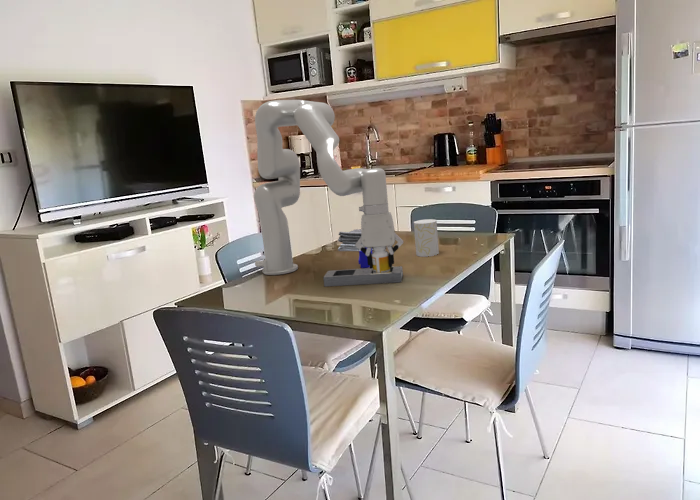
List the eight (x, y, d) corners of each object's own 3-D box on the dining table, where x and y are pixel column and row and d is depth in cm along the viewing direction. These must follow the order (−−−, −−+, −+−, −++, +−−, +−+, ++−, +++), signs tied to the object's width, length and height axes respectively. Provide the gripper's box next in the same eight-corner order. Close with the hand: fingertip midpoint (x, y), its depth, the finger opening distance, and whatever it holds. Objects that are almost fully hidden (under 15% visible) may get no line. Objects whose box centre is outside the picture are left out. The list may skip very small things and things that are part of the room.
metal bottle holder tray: (324, 286, 180) (323, 276, 179) (329, 279, 188) (328, 270, 187) (401, 282, 176) (400, 272, 175) (403, 275, 183) (402, 265, 183)
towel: (378, 252, 222) (376, 232, 220) (336, 251, 230) (334, 232, 229) (393, 243, 235) (391, 224, 234) (352, 243, 244) (351, 225, 242)
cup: (413, 256, 207) (411, 223, 205) (419, 251, 214) (417, 219, 212) (435, 256, 204) (433, 223, 201) (441, 251, 211) (438, 218, 209)
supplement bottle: (393, 273, 182) (390, 243, 180) (387, 278, 177) (384, 247, 175) (377, 273, 184) (374, 243, 182) (370, 277, 179) (368, 247, 177)
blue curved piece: (361, 260, 211) (359, 244, 209) (373, 259, 210) (371, 243, 209) (356, 268, 199) (354, 252, 198) (369, 268, 198) (367, 251, 197)
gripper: (346, 213, 174) (352, 271, 178) (403, 209, 171) (408, 268, 175) (350, 209, 181) (355, 265, 185) (405, 205, 178) (409, 262, 182)
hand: (381, 266), depth 180 cm, fingers closed on supplement bottle, 5 cm apart
